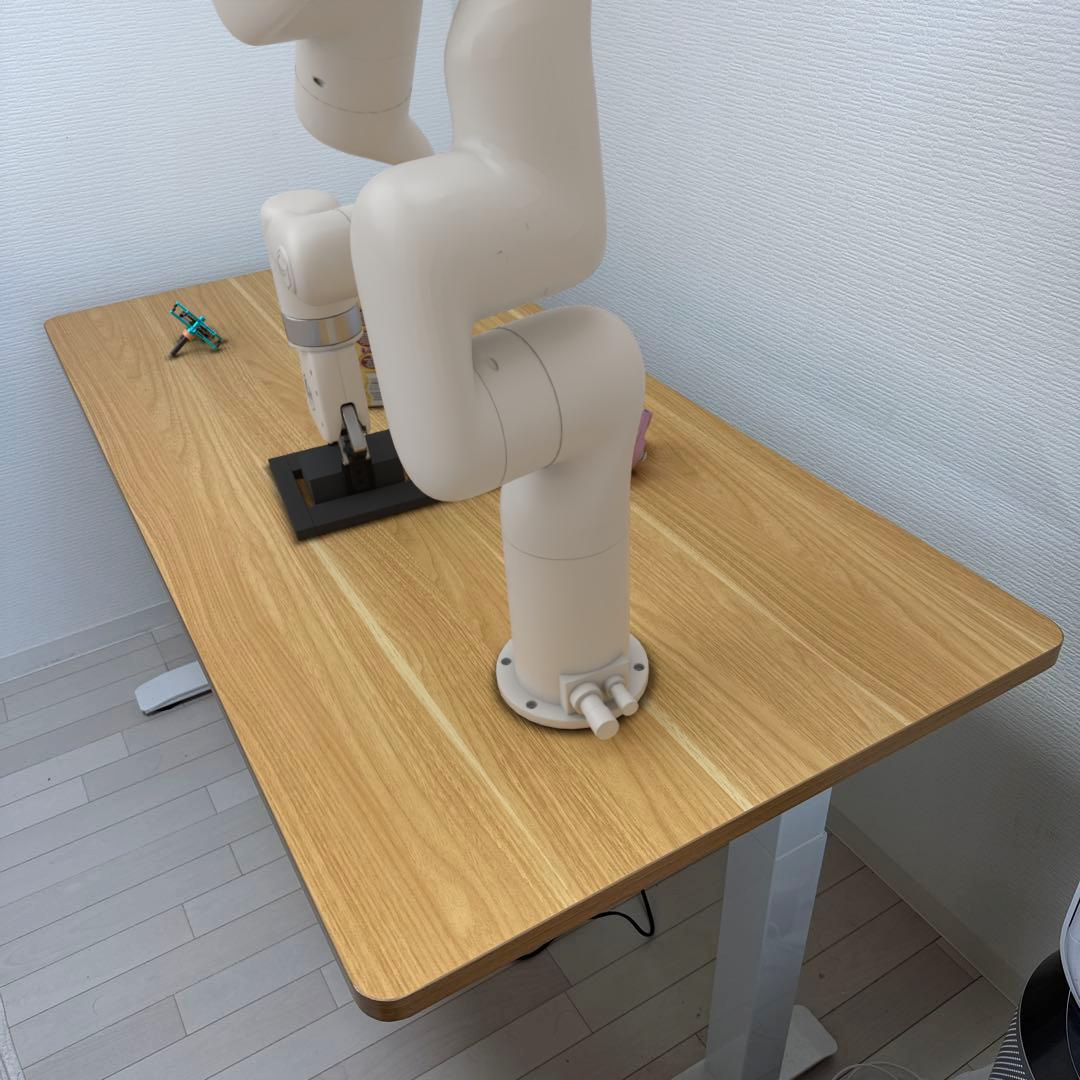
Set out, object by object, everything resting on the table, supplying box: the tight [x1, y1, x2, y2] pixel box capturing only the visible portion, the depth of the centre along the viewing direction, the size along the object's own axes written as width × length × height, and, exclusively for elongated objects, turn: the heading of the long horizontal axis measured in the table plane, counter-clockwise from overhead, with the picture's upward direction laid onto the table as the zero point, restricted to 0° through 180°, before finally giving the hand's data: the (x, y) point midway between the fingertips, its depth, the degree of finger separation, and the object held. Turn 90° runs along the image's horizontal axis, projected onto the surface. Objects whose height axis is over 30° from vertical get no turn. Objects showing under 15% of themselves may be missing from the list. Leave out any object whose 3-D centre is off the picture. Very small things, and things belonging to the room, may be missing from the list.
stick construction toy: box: [169, 301, 223, 357], centre depth 138 cm, size 12×7×8 cm
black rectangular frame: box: [267, 428, 442, 541], centre depth 107 cm, size 16×22×1 cm
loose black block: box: [298, 432, 406, 505], centre depth 105 cm, size 6×10×3 cm, turn 113°
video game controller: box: [631, 408, 653, 470], centre depth 105 cm, size 10×5×7 cm, turn 168°
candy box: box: [355, 295, 384, 408], centre depth 119 cm, size 9×4×15 cm, turn 2°
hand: (353, 475), depth 106 cm, fingers closed on loose black block, 5 cm apart
